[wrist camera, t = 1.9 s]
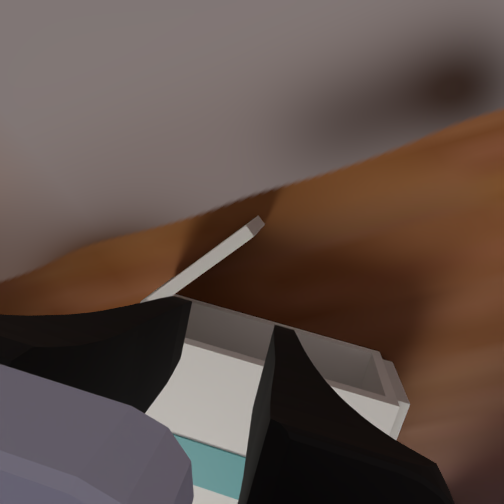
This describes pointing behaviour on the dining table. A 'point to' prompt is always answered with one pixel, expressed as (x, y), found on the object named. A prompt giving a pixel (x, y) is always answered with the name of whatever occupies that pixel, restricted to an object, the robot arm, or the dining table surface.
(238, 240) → the flap
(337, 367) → the carton
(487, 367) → the dining table surface
